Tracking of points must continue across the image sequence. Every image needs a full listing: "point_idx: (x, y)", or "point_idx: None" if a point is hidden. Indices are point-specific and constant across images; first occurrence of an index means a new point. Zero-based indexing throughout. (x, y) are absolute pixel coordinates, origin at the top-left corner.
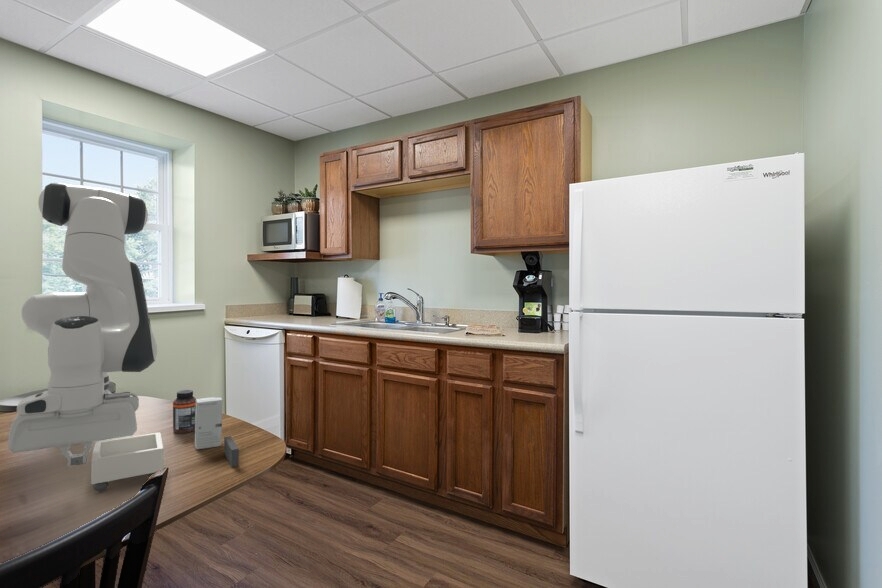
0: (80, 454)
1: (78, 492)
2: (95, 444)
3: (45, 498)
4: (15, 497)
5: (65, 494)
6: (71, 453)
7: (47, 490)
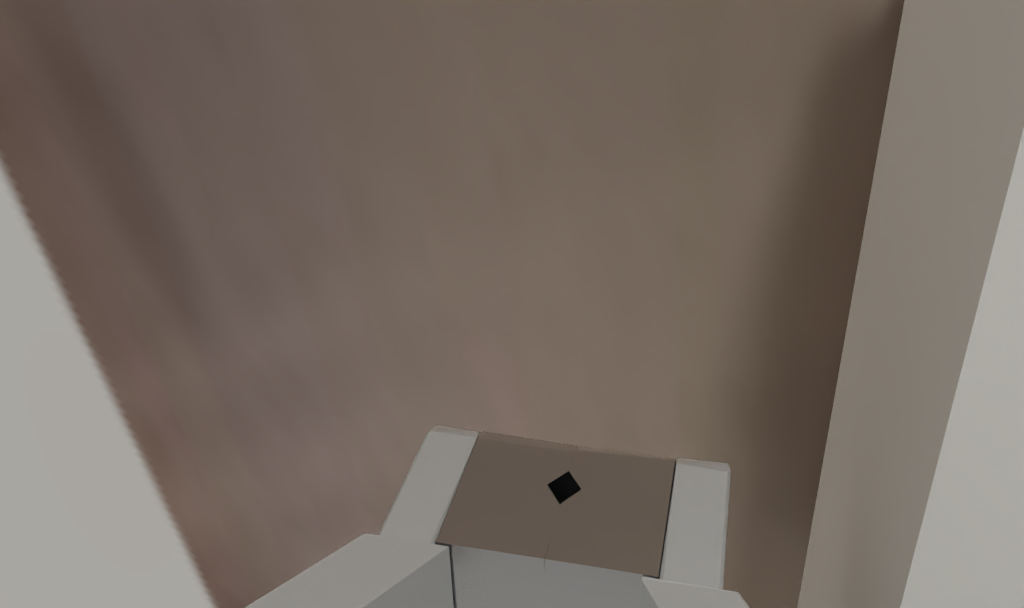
0: (600, 605)
1: (656, 361)
2: (1000, 301)
3: (348, 316)
4: (26, 91)
5: (527, 332)
6: (415, 577)
7: (301, 72)
